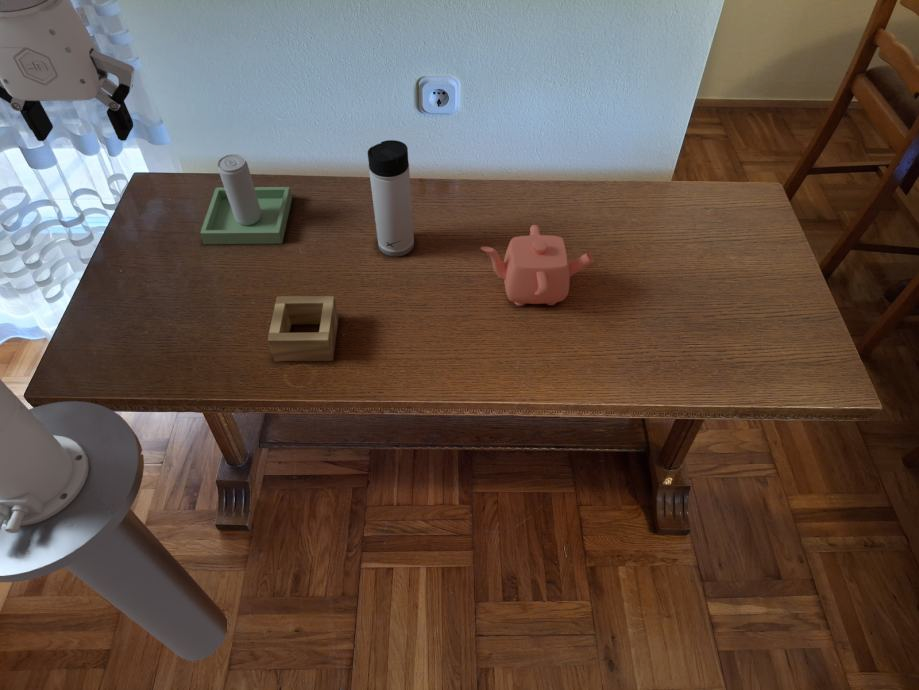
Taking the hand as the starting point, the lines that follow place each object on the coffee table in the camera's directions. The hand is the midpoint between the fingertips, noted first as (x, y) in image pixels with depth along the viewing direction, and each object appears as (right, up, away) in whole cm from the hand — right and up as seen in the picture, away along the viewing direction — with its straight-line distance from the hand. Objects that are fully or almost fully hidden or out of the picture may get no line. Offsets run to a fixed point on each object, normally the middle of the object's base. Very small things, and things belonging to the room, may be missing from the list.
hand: (86, 134), depth 79 cm
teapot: (+58, -17, +29) cm, 67 cm away
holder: (+22, -25, +22) cm, 40 cm away
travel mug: (+35, -8, +35) cm, 50 cm away
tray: (+7, -3, +39) cm, 40 cm away
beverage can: (+7, -3, +39) cm, 40 cm away
